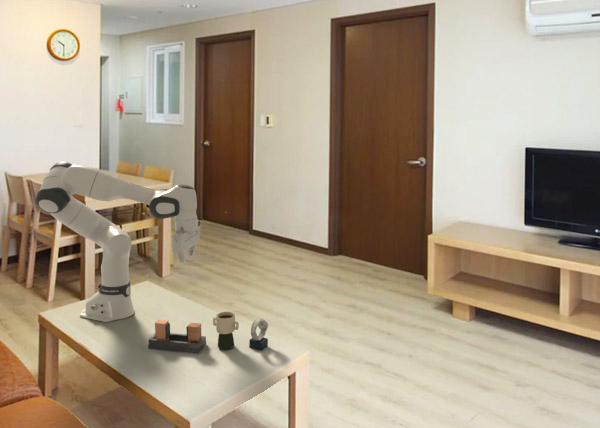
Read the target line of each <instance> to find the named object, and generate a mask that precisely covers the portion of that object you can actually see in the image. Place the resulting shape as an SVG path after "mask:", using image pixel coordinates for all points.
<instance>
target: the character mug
mask: <svg viewBox="0 0 600 428" xmlns="http://www.w3.org/2000/svg"><path fill="white" fill-rule="evenodd" d="M212 325H213V326H215V327H216V332H217V334H218V337H217V338H218V339H217V347H218V348H219V349H220V350H228V349H232V348H234V347H235V339H234V334H233V332H235V330H236V331H238V330H239V325H240V324H239V321H236V314H235V313H234V312H232V311H221V312H218V313H217V314H216V315H215V316H214V317H212Z"/></svg>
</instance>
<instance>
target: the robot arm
mask: <svg viewBox="0 0 600 428" xmlns="http://www.w3.org/2000/svg"><path fill="white" fill-rule="evenodd" d="M73 195H81V196H84V197H86V198H90V199H93V200H97V201H100V202H112V201H115V200H116V201H117V200H121V199H123V200H125V199H126V200H131V201H134V202H138V203H141V204H144V205H148V206H149V208H148V209H149V211H150V213H151V215H152V216H153V217H154V218H157V219H158V220H160V219H161V220H164V219H169V218H173V217H174V230H175V231H176V232H175V233H173V235H172V246H171V247H172V253H173V254H175V255H177V256H178V259H179V263H185V261H186V257H185V252H186V251H187V250H189V251H188V256H189V257H190V256H191V257H193V256H194V255H195V250H196V249H195V248H196V244H198V243H199V242H200V241H201V240H200V239H201V226H202V220H199V219H198V215H197V208H198V202H197V201H198V200H197V193H196V190H195V188H194V187H192V186H191V185H188V184H182V183H181V184H180V183H179V184H175V185H174V186H173V187H171V188H170V189H166V188H160V189H153V188H148V187H144V186H142V185H138V184H134V183H131V182H128V181H126V180H123V179H122V178H120V177H117V176H115V175H113V174H111V173H109V172H106V171H103V170H100V169H97V168H93V167H90V166H85V165H79V164H78V165H77V164H72V163H70V162H68V161H67V162H66V161H59V162H56V163H54V164H53V165H52V166H51V168H49V171H48V172H47V174H46V175H45V177H44V178H43V180H42V183H41V186H40V188H39V190H38V191H37V194H36V197H35V204H36V206H37V207H38V208H39V209H40V210H41V211H43V212H45V213H48V214H50V215H51V217H53V218H55V220H57V221H58V222H60V223H61V224H63V226H65V227H67V228H69V229H70V230H72V231H73V232H75V233H77V234H78V235H80V236H82V237H84V238H85V239H87V240H89V241H91V242H92V243H94V244H96V245H98V246H99V247H100V248H101V249H102V262H101V265H100V273H101V282H100V283H99V284H98V285H97V286H96V289H97V290H98V291H97V292H96V293H94V294H93V295H92V296H91V297H90V298H88V299H87V300H86V303H85V308H83V309H82V310H81V312H80V313H79V317H81V318H83V319H89V320H94V321H99V322H104V323H110V322H112V321H116V320H117V321H118V320H122V319H123V320H124V319H126V318H129V317H131V316H132V315H134V314H135V308H134V305H133V301H132V295H131V292H132V291H131V290H132V289H131V288H132V287H131V280H130V274H129V273H130V272H129V271H130V270H129V260H130V252H131V249H132V247H133V246H132V239H131V237H130V235H129V234H128V233H127V232H126V231H125V230H123V229H122V228H121V227H119V226H118V225H117V224H115V223H113V221H110V220H109V219H108V218H106V217H104V216H103V215H101V214H99V212H97V211H95V210H94V209H92V208H91V207H89V206H88V205H86V204H85V203H83V202H82V201H80V200H78V199H77V198H75V197H74V196H73Z"/></svg>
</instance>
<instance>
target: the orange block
mask: <svg viewBox="0 0 600 428" xmlns="http://www.w3.org/2000/svg"><path fill="white" fill-rule="evenodd" d="M170 333H171V323H170V322H169V319H158V320H157V321H155V322H154V334H155V337H156V339H161V340H169V336H170Z"/></svg>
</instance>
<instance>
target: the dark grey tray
mask: <svg viewBox="0 0 600 428" xmlns="http://www.w3.org/2000/svg"><path fill="white" fill-rule="evenodd" d="M185 328H186V334H183V333H176V332H175V333H173V332H170V336H169V340H161V339H156V337H155V333H153V334H152V335H151V336H150V337H149V338H148V344H147V349H149V350H155V351H156V350H158V351H166V352H175V353H184V354H185V353H186V354H194V355H200V353H201V352H202V351H203V349H204V348H205V347H206V346H207V338H206V337H207V336H204V335H202V323H198V322H190V323H189V324H188V325H187V326H186V327H185Z"/></svg>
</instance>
